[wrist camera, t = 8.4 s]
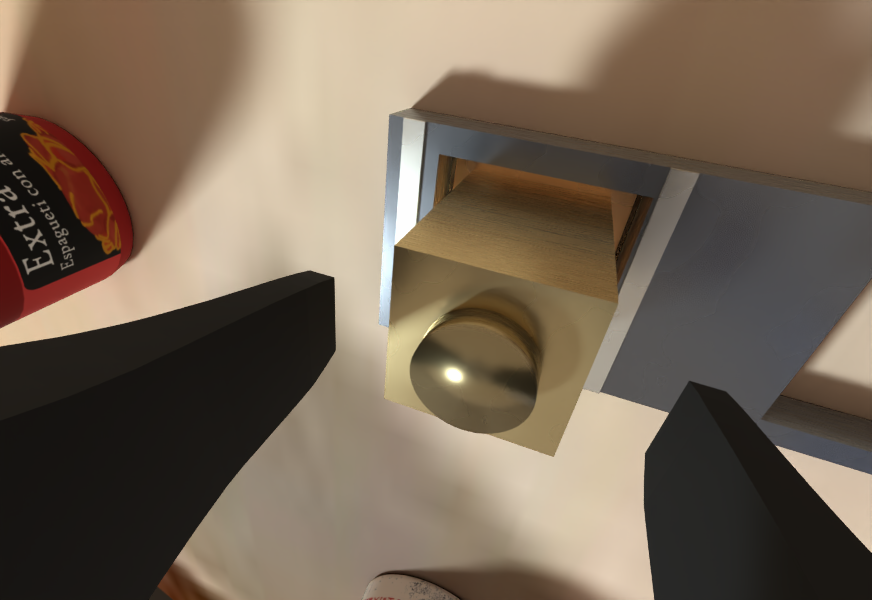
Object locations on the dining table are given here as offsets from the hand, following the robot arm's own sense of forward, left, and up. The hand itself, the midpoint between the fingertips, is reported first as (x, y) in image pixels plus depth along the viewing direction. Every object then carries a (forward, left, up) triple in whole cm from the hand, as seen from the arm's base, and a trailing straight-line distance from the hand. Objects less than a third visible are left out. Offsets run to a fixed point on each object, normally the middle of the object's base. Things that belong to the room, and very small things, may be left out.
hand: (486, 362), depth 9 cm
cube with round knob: (0, 0, -6) cm, 6 cm away
